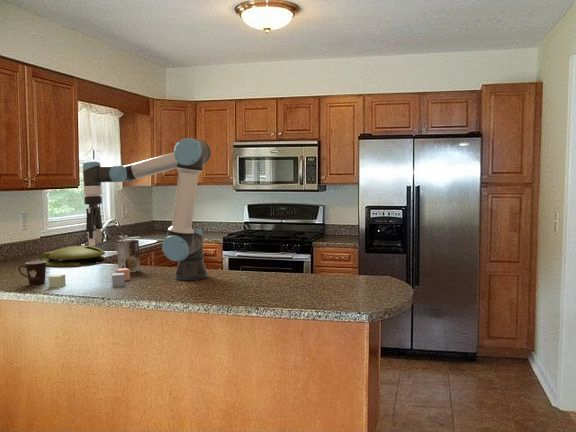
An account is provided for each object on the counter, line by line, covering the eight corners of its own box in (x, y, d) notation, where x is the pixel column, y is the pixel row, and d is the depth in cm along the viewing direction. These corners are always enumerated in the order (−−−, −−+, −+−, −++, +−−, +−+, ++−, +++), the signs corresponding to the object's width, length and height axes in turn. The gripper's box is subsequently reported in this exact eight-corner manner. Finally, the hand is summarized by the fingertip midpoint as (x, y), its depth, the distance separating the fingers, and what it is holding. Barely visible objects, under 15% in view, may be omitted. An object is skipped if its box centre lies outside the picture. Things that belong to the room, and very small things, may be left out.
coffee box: (132, 270, 279) (131, 239, 278) (140, 271, 275) (139, 239, 274) (117, 272, 272) (116, 241, 271) (125, 273, 268) (124, 241, 267)
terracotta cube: (126, 278, 256) (126, 267, 256) (130, 279, 252) (129, 269, 252) (116, 279, 253) (115, 269, 253) (119, 281, 249) (118, 270, 249)
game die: (97, 253, 246) (96, 237, 239) (81, 246, 247) (79, 230, 241) (109, 241, 252) (108, 225, 246) (93, 235, 254) (92, 219, 247)
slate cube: (124, 283, 243) (123, 272, 243) (124, 285, 238) (123, 274, 238) (112, 284, 241) (112, 273, 241) (112, 286, 237) (112, 275, 236)
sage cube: (65, 285, 241) (65, 274, 241) (59, 287, 236) (59, 276, 236) (55, 285, 242) (54, 274, 242) (49, 287, 237) (48, 276, 237)
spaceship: (29, 267, 297) (28, 250, 296) (61, 259, 327) (60, 243, 327) (87, 268, 291) (87, 250, 291) (115, 259, 322) (114, 243, 321)
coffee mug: (51, 282, 248) (50, 261, 247) (35, 286, 240) (34, 264, 239) (33, 281, 253) (32, 260, 252) (17, 284, 245) (16, 263, 244)
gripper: (91, 195, 256) (94, 241, 258) (76, 196, 234) (79, 247, 236) (107, 194, 256) (109, 241, 258) (94, 196, 235) (96, 247, 236)
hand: (95, 244), depth 247 cm, fingers closed on game die, 9 cm apart
